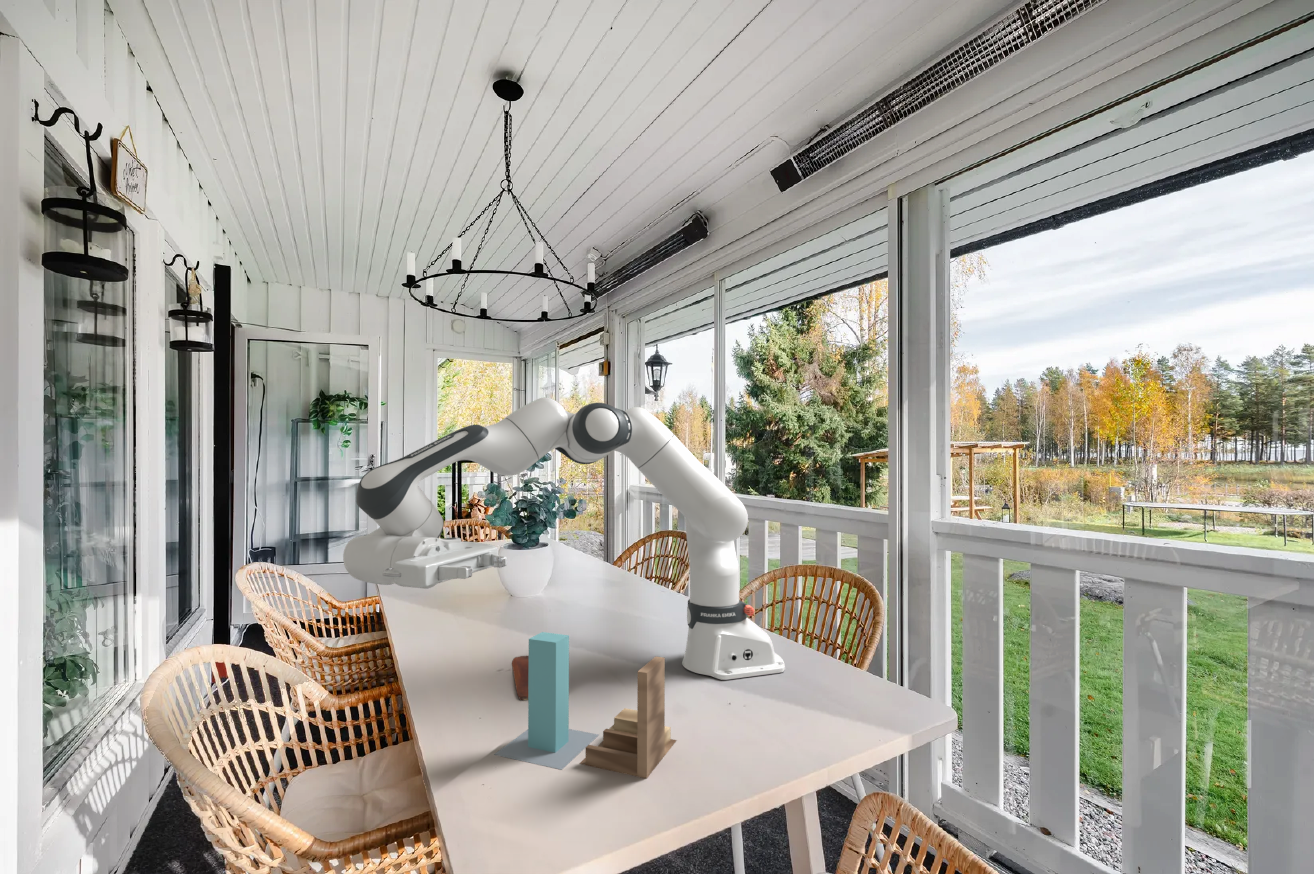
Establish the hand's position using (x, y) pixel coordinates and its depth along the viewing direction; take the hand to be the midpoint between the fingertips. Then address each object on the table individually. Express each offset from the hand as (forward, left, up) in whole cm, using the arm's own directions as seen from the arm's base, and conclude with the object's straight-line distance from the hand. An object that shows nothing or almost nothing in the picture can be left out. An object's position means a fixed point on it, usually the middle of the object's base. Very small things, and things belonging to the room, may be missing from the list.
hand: (487, 567), depth 104 cm
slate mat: (-10, +6, -28) cm, 31 cm away
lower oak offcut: (-25, +7, -27) cm, 38 cm away
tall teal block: (-10, +6, -27) cm, 30 cm away
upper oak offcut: (-25, +7, -25) cm, 36 cm away
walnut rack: (-23, +10, -28) cm, 38 cm away
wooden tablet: (-7, -28, -29) cm, 41 cm away
